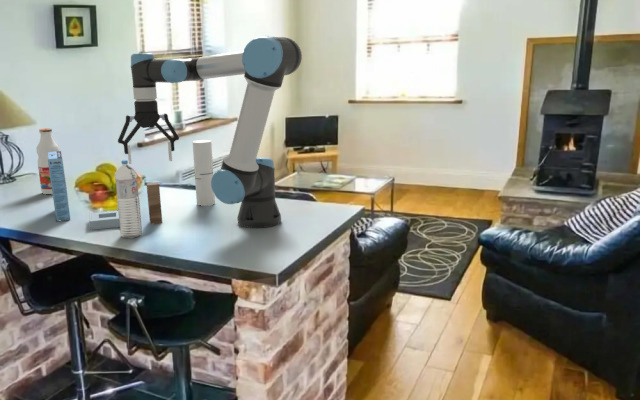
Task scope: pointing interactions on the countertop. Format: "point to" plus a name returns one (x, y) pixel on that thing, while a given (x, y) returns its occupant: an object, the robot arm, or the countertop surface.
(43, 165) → the fruit juice
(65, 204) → the blue cardboard box
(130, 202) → the water bottle
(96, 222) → the socket block
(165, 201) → the countertop surface
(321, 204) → the countertop surface
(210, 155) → the cylindrical container
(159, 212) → the peg
